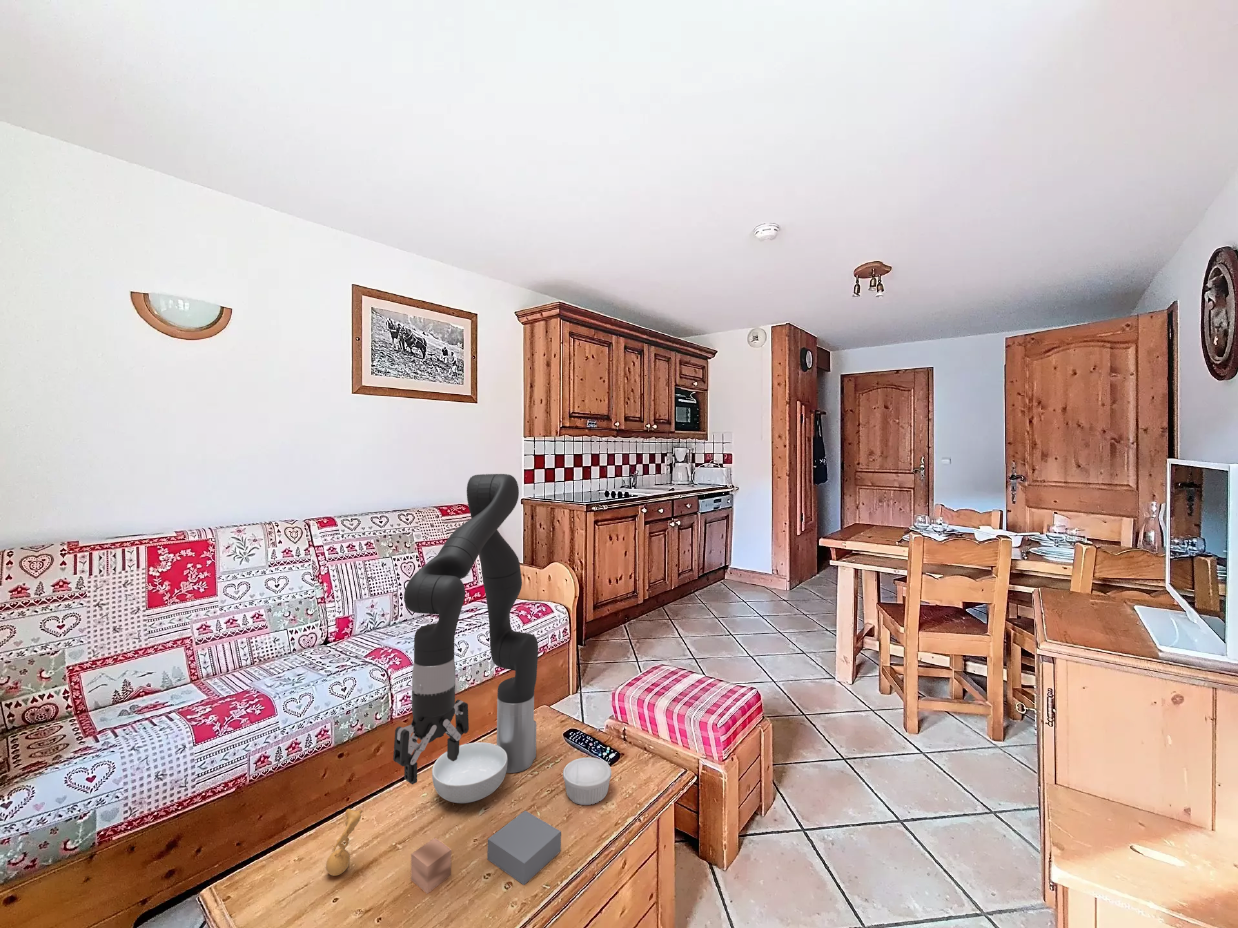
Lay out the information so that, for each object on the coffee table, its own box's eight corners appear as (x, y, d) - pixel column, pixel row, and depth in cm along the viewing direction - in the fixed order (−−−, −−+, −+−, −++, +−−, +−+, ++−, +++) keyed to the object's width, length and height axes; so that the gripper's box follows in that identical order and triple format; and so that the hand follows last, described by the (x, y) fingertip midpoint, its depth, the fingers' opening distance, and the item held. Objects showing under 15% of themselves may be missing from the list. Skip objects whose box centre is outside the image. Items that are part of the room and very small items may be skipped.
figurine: (339, 854, 99) (340, 793, 99) (370, 855, 99) (371, 794, 99) (314, 891, 91) (314, 824, 91) (347, 891, 91) (348, 825, 91)
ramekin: (554, 788, 120) (554, 766, 120) (593, 772, 127) (593, 751, 127) (579, 816, 111) (579, 792, 111) (620, 796, 118) (620, 774, 118)
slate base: (524, 829, 107) (525, 810, 107) (560, 850, 101) (560, 831, 101) (487, 859, 99) (487, 838, 99) (523, 884, 93) (524, 863, 93)
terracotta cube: (434, 862, 98) (435, 837, 98) (450, 875, 95) (451, 849, 95) (410, 880, 94) (411, 853, 94) (427, 894, 91) (427, 866, 91)
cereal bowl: (475, 761, 130) (475, 733, 130) (522, 785, 121) (522, 756, 121) (416, 797, 116) (416, 766, 116) (463, 827, 107) (464, 794, 107)
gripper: (453, 665, 102) (452, 745, 102) (386, 691, 90) (384, 782, 90) (478, 675, 98) (476, 759, 98) (410, 703, 86) (409, 799, 86)
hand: (432, 770), depth 94 cm, fingers open, 8 cm apart
